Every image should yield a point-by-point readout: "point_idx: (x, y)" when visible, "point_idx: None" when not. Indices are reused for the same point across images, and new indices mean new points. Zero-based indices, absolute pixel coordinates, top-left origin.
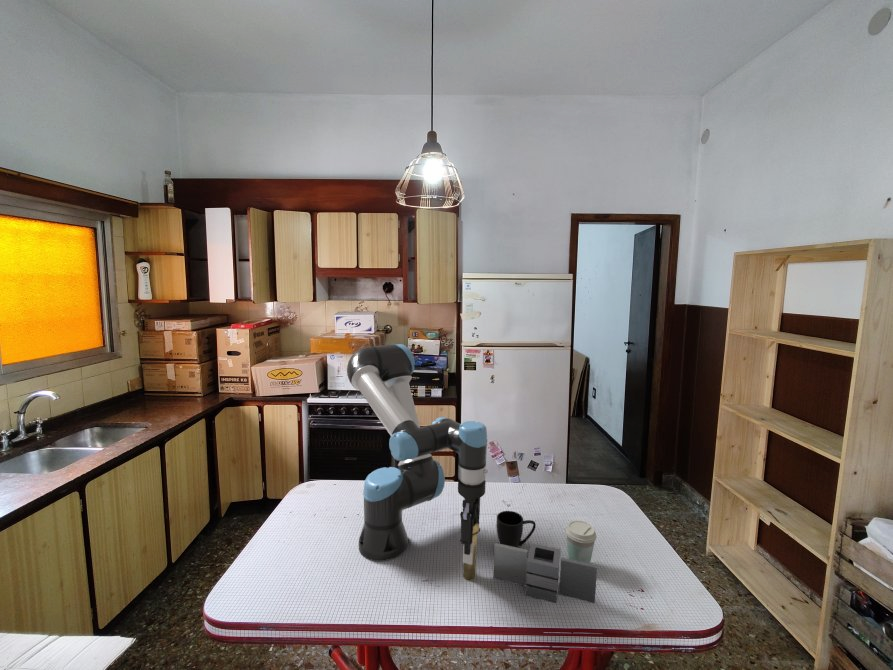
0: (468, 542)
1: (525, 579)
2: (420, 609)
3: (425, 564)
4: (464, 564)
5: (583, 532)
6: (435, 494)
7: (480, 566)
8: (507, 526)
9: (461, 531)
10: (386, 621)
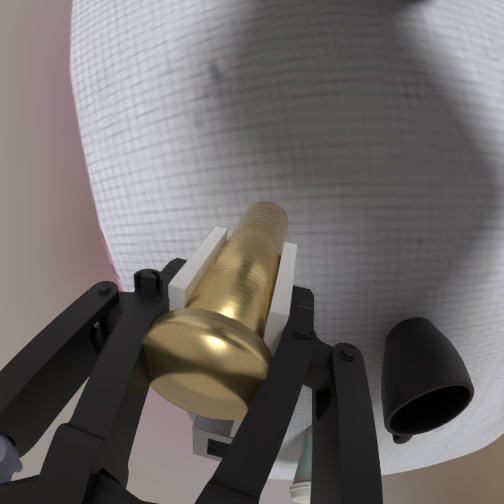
0: (94, 330)
1: None
2: (108, 101)
3: (301, 54)
4: (239, 225)
5: (305, 498)
6: None
7: (319, 259)
8: (391, 408)
9: (38, 337)
10: (73, 47)
